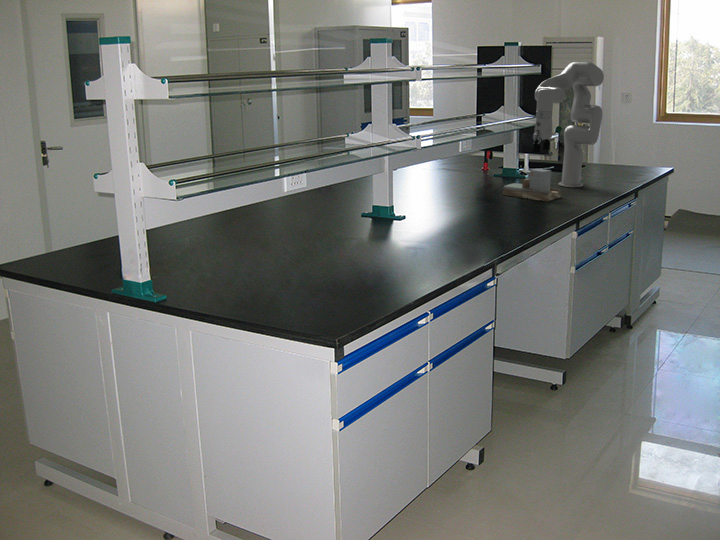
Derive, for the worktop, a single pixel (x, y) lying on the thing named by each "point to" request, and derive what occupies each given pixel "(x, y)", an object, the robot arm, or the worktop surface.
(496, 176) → the worktop surface
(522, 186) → the lid
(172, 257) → the worktop surface
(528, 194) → the sliding lid wooden box
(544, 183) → the small box
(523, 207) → the worktop surface
